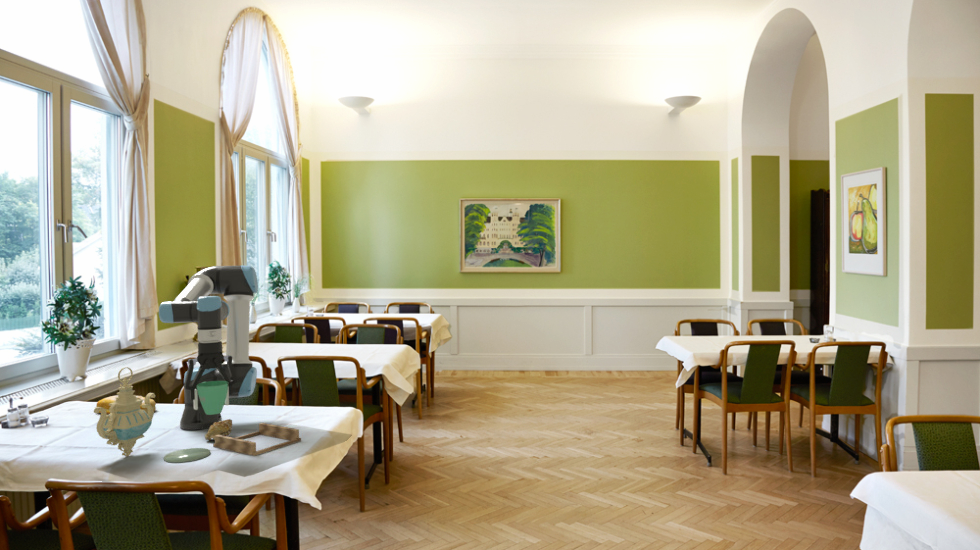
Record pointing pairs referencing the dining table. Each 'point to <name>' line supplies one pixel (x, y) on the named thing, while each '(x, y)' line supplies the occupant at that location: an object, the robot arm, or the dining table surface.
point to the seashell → (219, 429)
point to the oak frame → (250, 447)
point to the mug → (212, 396)
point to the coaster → (187, 455)
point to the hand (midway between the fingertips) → (211, 406)
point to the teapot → (125, 418)
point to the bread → (106, 401)
